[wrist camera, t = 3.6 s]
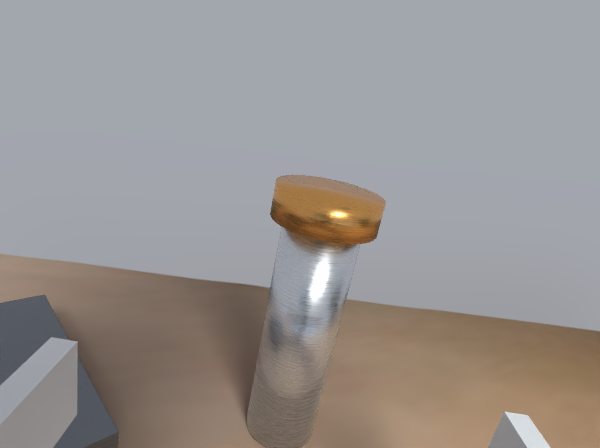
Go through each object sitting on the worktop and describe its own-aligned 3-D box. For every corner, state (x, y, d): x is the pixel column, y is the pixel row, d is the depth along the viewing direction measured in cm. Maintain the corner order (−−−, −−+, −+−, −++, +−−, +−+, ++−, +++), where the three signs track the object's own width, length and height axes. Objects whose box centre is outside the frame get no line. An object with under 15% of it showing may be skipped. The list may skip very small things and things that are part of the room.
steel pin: (341, 431, 21) (406, 204, 17) (274, 481, 17) (336, 212, 13) (283, 377, 24) (327, 174, 20) (217, 411, 21) (253, 175, 16)
